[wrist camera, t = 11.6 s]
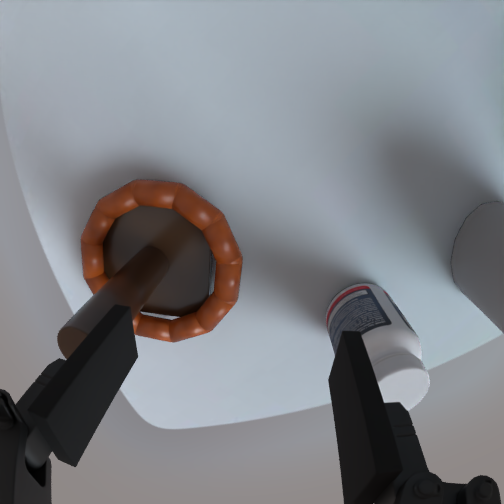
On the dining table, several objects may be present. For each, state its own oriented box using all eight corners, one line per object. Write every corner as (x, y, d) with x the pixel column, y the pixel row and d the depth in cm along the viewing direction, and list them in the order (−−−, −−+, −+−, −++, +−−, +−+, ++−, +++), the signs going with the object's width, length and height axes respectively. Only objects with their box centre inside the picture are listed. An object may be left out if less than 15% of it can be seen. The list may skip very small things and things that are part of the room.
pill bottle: (314, 333, 23) (332, 422, 15) (340, 273, 21) (379, 350, 13) (373, 346, 23) (407, 427, 15) (401, 291, 21) (456, 363, 13)
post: (104, 199, 20) (-5, 252, 10) (214, 205, 20) (160, 275, 10) (112, 300, 23) (38, 391, 12) (210, 313, 23) (175, 430, 12)
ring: (87, 174, 19) (75, 177, 17) (252, 189, 19) (250, 193, 17) (95, 316, 22) (86, 327, 21) (232, 343, 22) (230, 356, 21)
